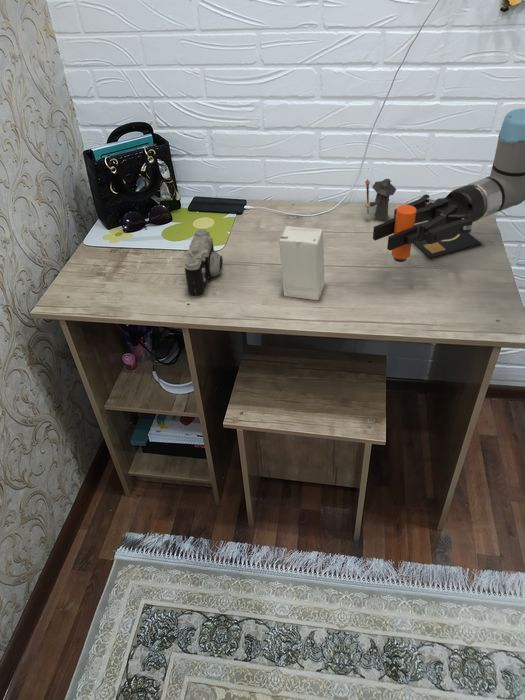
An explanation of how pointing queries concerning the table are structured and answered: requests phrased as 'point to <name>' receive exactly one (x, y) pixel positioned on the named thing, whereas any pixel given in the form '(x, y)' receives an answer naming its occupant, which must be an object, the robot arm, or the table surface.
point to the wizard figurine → (380, 197)
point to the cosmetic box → (302, 262)
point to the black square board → (446, 244)
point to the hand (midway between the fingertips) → (381, 238)
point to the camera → (201, 263)
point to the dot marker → (403, 222)
